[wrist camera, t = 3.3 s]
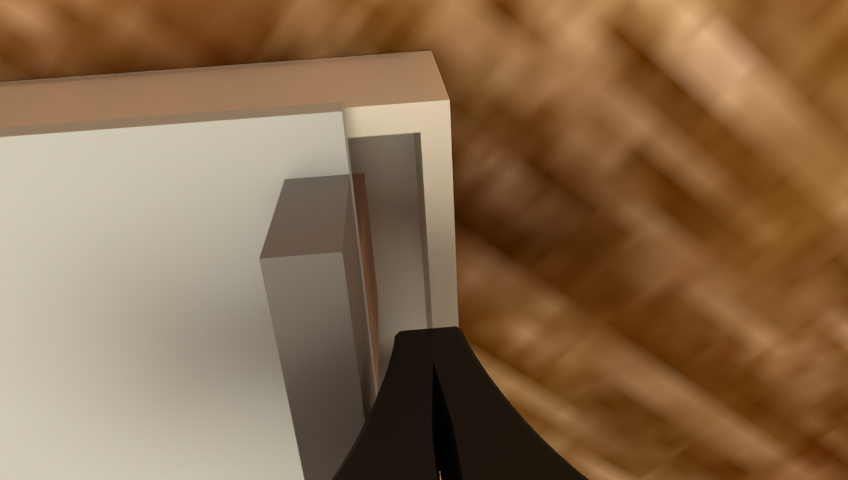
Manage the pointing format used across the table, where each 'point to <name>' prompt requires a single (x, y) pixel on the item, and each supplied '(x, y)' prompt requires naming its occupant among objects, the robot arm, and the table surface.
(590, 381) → the table surface
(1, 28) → the table surface
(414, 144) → the box
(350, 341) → the lid
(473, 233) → the table surface
